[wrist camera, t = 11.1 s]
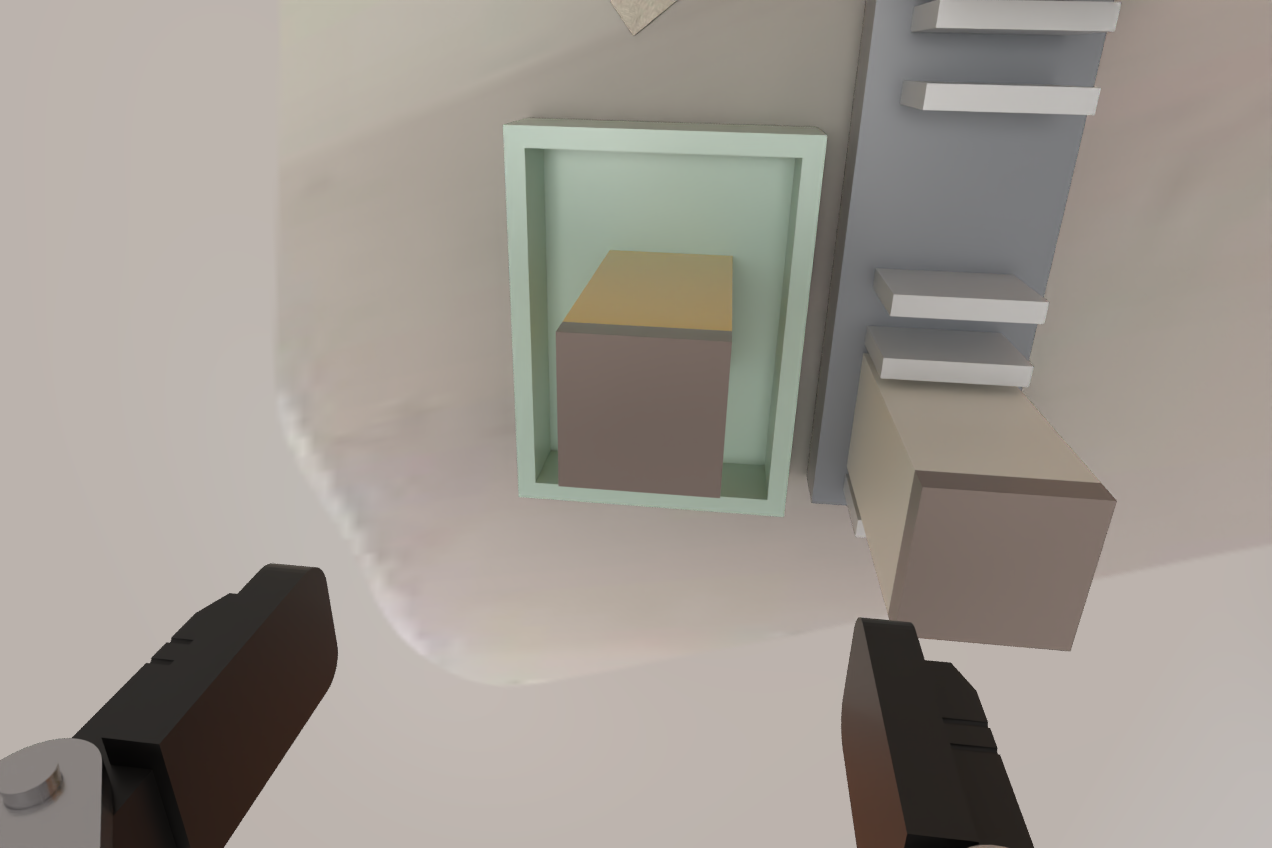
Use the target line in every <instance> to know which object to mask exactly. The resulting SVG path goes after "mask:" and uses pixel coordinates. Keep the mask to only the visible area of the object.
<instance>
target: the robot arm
mask: <svg viewBox="0 0 1272 848" xmlns="http://www.w3.org/2000/svg"><path fill="white" fill-rule="evenodd" d="M151 659H152V660H151V662H150V663H146V664H145V665H144V666H143V667H142V668H141V669H140V670H139V671H138V672H137V673H136V674H135V675H134V676H133V677H132V678H131V679H130V680H129V681H128V682H127V683H126V684H125V685H124V686H123V687H122V688H121V689H120V690H119V691H118V692H117V693H116V694H115V695H114V696H113V697H112V698H111V699H110V700H109V701H108V702H107V703H106V704H105V705H104V706H103V707H102V708H101V709H100V710H99V711H98V712H97V713H96V714H95V715H94V716H93V717H92V718H91V719H90V720H89V721H88V722H87V723H86V724H85V725H84V726H83V727H82V728H81V729H80V730H79V731H78V732H77V733H76V734H75V735H74V736H73V737H72V738H66V739H65V738H64V739H55V740H49V741H45V742H42V743H37V744H34V745H32V746H29V747H26V748H23V749H21V750H19V751H17V752H15V753H12V754H11V755H9V756H7V757H5V758H4V759H2V760H0V848H224V846H225V845H226V843H227V842H228V840H229V839H230V837H231V836H232V834H233V833H234V831H235V830H236V828H237V827H238V825H239V824H240V822H241V821H242V819H243V818H244V816H245V815H246V813H247V812H248V810H249V809H250V807H251V805H252V804H253V802H254V801H255V800H256V798H257V797H258V795H259V794H260V792H261V791H262V789H263V787H264V786H265V784H266V783H267V781H268V780H269V778H270V777H271V775H272V774H273V772H274V771H275V769H276V768H277V766H278V764H279V763H280V762H281V760H282V759H283V757H284V756H285V754H286V752H287V751H288V750H289V748H290V747H291V745H292V744H293V742H294V740H295V739H296V737H297V736H298V734H299V733H300V731H301V730H302V729H303V727H304V725H305V724H306V722H307V721H308V719H309V718H310V716H311V715H312V713H313V712H314V710H315V709H316V707H317V706H318V704H319V703H320V701H321V700H322V698H323V697H324V695H325V694H326V692H327V691H328V689H329V687H330V685H331V683H332V680H333V678H334V674H335V671H336V666H337V659H338V647H337V641H336V635H335V629H334V623H333V617H332V611H331V606H330V599H329V593H328V588H327V582H326V577H325V575H324V573H323V571H322V570H321V569H320V568H316V567H306V566H305V567H304V566H294V565H284V564H268V565H266V566H264V567H263V568H262V569H261V570H260V571H259V572H258V573H257V574H256V575H255V576H254V577H253V578H252V579H251V580H250V581H249V583H247V584H246V585H245V586H244V588H243V589H242V590H241V591H240V592H239V593H238V594H232V593H229V594H227V595H226V596H224V597H222V598H221V599H219V600H217V601H215V602H214V603H212V604H210V605H209V606H207V607H205V608H204V609H202V610H201V611H199V612H197V613H195V614H194V615H193V617H191V619H189V620H188V621H187V623H185V624H184V626H182V628H180V629H179V631H178V632H176V634H175V635H174V636H173V637H172V638H171V642H170V643H166V644H165V645H164V646H163V647H162V648H161V649H160V650H159V651H158V652H157V653H156V654H155V655H154V656H153V657H152V658H151ZM841 722H842V723H841V733H842V746H843V753H844V761H845V766H846V775H847V781H848V788H849V795H850V802H851V809H852V816H853V823H854V830H855V837H856V844H857V848H1034V846H1033V843H1032V841H1031V838H1030V835H1029V832H1028V830H1027V827H1026V824H1025V822H1024V819H1023V816H1022V813H1021V811H1020V808H1019V805H1018V803H1017V800H1016V797H1015V794H1014V792H1013V789H1012V786H1011V784H1010V781H1009V778H1008V775H1007V773H1006V770H1005V767H1004V765H1003V762H1002V759H1001V756H1000V755H998V754H997V746H996V743H995V740H994V737H993V735H992V732H991V730H990V728H988V722H987V718H986V716H985V713H984V710H983V708H982V705H981V702H980V700H979V697H978V694H977V692H976V690H975V689H974V688H973V687H972V686H971V685H970V683H969V682H968V681H967V680H966V679H965V678H964V677H963V676H962V674H961V673H960V672H959V671H958V670H957V669H956V668H955V667H954V666H953V665H952V663H948V662H938V661H927V660H924V656H923V653H922V650H921V646H920V643H919V640H918V636H917V633H916V630H915V627H914V625H913V624H912V623H911V622H904V621H892V620H881V619H870V618H858V619H857V621H856V623H855V627H854V633H853V639H852V646H851V652H850V658H849V664H848V670H847V677H846V683H845V689H844V695H843V702H842V716H841Z"/></svg>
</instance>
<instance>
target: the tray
mask: <svg viewBox="0 0 1272 848" xmlns="http://www.w3.org/2000/svg"><path fill="white" fill-rule="evenodd" d="M503 139H504V163H505V186H506V209H507V233H508V256H509V280H510V303H511V327H512V350H513V374H514V397H515V421H516V444H517V468H518V491H519V497H526V498H539V499H553V500H566V501H579V502H592V503H605V504H618V505H631V506H645V507H658V508H671V509H684V510H697V511H710V512H724V513H737V514H750V515H763V516H776V517H784V511H785V503H786V494H787V485H788V476H789V468H790V459H791V450H792V441H793V433H794V424H795V415H796V406H797V398H798V389H799V380H800V371H801V363H802V354H803V345H804V336H805V328H806V319H807V310H808V301H809V292H810V284H811V275H812V266H813V257H814V249H815V240H816V231H817V222H818V214H819V205H820V196H821V187H822V179H823V170H824V161H825V152H826V144H827V135H826V134H825V133H824V132H822V131H821V130H820V129H819V128H817V127H800V126H769V125H738V124H707V123H676V122H645V121H614V120H583V119H552V118H526V119H522V120H518V121H515V122H511V123H507V124H504V125H503ZM609 250H621V251H642V252H663V253H684V254H706V255H727V256H733V277H732V348H731V362H730V375H729V388H728V401H727V414H726V428H725V441H724V454H723V467H722V481H721V494H720V498H709V497H696V496H682V495H669V494H656V493H642V492H629V491H615V490H602V489H588V488H575V487H562V486H559V485H558V432H557V380H556V331H557V329H558V328H559V326H560V324H561V323H562V321H563V320H564V318H565V317H566V315H567V314H568V312H569V311H570V309H571V308H572V306H573V305H574V303H575V302H576V300H577V299H578V297H579V296H580V294H581V293H582V291H583V290H584V288H585V287H586V285H587V284H588V282H589V281H590V279H591V278H592V276H593V274H594V273H595V271H596V270H597V268H598V267H599V265H600V264H601V262H602V261H603V259H604V258H605V256H606V255H607V253H608V252H609Z"/></svg>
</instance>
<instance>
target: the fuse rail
mask: <svg viewBox="0 0 1272 848" xmlns="http://www.w3.org/2000/svg"><path fill="white" fill-rule="evenodd" d="M1121 3H1122V2H1114V0H866V4H865V12H864V20H863V28H862V36H861V44H860V52H859V60H858V68H857V76H856V84H855V92H854V100H853V108H852V116H851V124H850V132H849V141H848V149H847V157H846V165H845V173H844V181H843V189H842V197H841V205H840V213H839V221H838V229H837V237H836V245H835V253H834V261H833V269H832V277H831V285H830V293H829V301H828V309H827V317H826V325H825V333H824V341H823V349H822V357H821V365H820V373H819V381H818V389H817V397H816V405H815V413H814V421H813V429H812V437H811V445H810V453H809V461H808V469H807V480H808V486H809V492H810V498H811V503H819V504H833V505H846V506H848V510H849V514H850V518H851V522H852V526H853V530H854V534H855V537H862V538H867V541H868V545H869V548H870V552H871V555H872V559H873V563H874V566H875V570H876V573H877V577H878V581H879V584H880V588H881V591H882V595H883V599H884V602H885V606H886V609H887V613H888V617H889V620H892V621H904V622H911V623H912V624H913V625H914V627H915V630H916V633H917V636H918V638H924V639H937V640H947V641H948V640H949V641H958V642H970V643H982V644H993V645H1004V646H1015V647H1027V648H1038V649H1049V650H1060V651H1071V647H1072V644H1073V641H1074V638H1075V635H1076V632H1077V628H1078V625H1079V622H1080V619H1081V615H1082V612H1083V609H1084V606H1085V602H1086V599H1087V596H1088V593H1089V589H1090V586H1091V583H1092V580H1093V576H1094V573H1095V570H1096V567H1097V564H1098V560H1099V557H1100V554H1101V551H1102V547H1103V544H1104V541H1105V538H1106V534H1107V531H1108V528H1109V525H1110V521H1111V518H1112V515H1113V512H1114V508H1115V505H1116V502H1117V501H1116V500H1115V498H1114V497H1113V496H1112V495H1111V494H1110V493H1109V491H1108V490H1107V489H1106V488H1105V487H1104V486H1103V485H1102V483H1101V482H1100V481H1099V480H1098V479H1097V478H1096V477H1095V475H1094V474H1093V473H1092V472H1091V471H1090V470H1089V468H1088V467H1087V466H1086V465H1085V464H1084V463H1083V462H1082V460H1081V459H1080V458H1079V457H1078V456H1077V455H1076V454H1075V452H1074V451H1073V450H1072V449H1071V448H1070V447H1069V446H1068V444H1067V443H1066V442H1065V441H1064V440H1063V439H1062V437H1061V436H1060V435H1059V434H1058V433H1057V432H1056V431H1055V429H1054V428H1053V427H1052V426H1051V425H1050V424H1049V423H1048V421H1047V420H1046V419H1045V418H1044V417H1043V416H1042V414H1041V413H1040V412H1039V411H1038V410H1037V409H1036V408H1035V406H1034V405H1033V404H1032V403H1031V402H1030V401H1029V400H1028V398H1027V397H1026V396H1025V395H1024V394H1023V393H1022V387H1029V385H1030V381H1031V377H1032V373H1033V368H1034V366H1033V365H1032V364H1031V363H1030V362H1029V357H1030V353H1031V349H1032V345H1033V340H1034V336H1035V332H1036V328H1037V324H1044V323H1045V319H1046V314H1047V310H1048V306H1049V302H1048V301H1047V300H1046V299H1044V294H1045V290H1046V286H1047V281H1048V277H1049V273H1050V269H1051V265H1052V260H1053V256H1054V252H1055V248H1056V244H1057V239H1058V235H1059V231H1060V227H1061V222H1062V218H1063V214H1064V210H1065V206H1066V201H1067V197H1068V193H1069V189H1070V185H1071V180H1072V176H1073V172H1074V168H1075V163H1076V159H1077V155H1078V151H1079V147H1080V142H1081V138H1082V134H1083V130H1084V126H1085V121H1086V117H1087V115H1095V111H1096V107H1097V103H1098V99H1099V95H1100V90H1101V88H1095V87H1094V83H1095V79H1096V75H1097V71H1098V67H1099V62H1100V58H1101V54H1102V50H1103V45H1104V41H1105V37H1106V33H1107V32H1114V31H1115V28H1116V24H1117V20H1118V16H1119V12H1120V7H1121Z"/></svg>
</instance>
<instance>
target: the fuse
mask: <svg viewBox="0 0 1272 848" xmlns="http://www.w3.org/2000/svg"><path fill="white" fill-rule="evenodd" d="M732 277H733V256H727V255H706V254H684V253H663V252H642V251H621V250H609V252H608V253H607V255H606V256H605V258H604V259H603V261H602V262H601V264H600V265H599V267H598V268H597V270H596V271H595V273H594V274H593V276H592V278H591V279H590V281H589V282H588V284H587V285H586V287H585V288H584V290H583V291H582V293H581V294H580V296H579V297H578V299H577V300H576V302H575V303H574V305H573V306H572V308H571V309H570V311H569V312H568V314H567V315H566V317H565V318H564V320H563V321H562V323H561V324H560V326H559V328H558V329H557V331H556V380H557V432H558V485H559V486H562V487H575V488H588V489H602V490H615V491H629V492H642V493H656V494H669V495H682V496H696V497H709V498H720V494H721V481H722V467H723V454H724V441H725V428H726V414H727V401H728V388H729V375H730V362H731V348H732Z"/></svg>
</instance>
